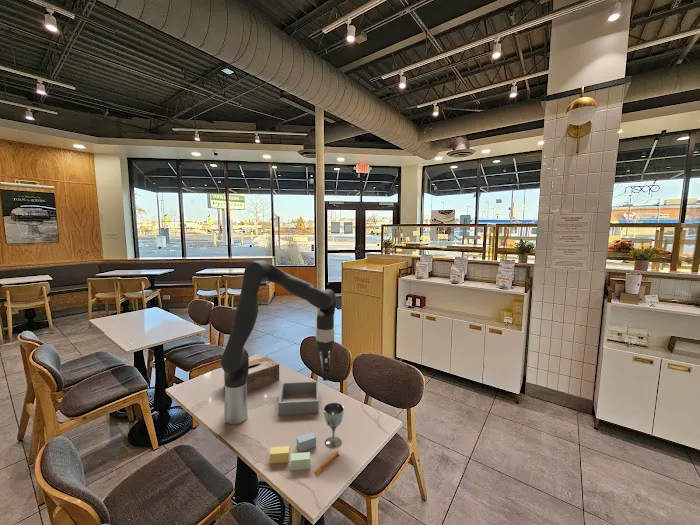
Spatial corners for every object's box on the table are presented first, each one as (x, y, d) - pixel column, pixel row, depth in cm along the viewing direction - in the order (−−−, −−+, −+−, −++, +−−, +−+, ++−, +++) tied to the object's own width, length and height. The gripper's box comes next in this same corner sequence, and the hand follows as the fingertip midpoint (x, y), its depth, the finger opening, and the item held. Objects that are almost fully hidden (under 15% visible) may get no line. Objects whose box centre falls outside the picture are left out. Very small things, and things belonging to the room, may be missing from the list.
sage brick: (290, 470, 110) (290, 460, 109) (291, 463, 113) (291, 453, 113) (310, 468, 111) (310, 458, 110) (309, 461, 114) (310, 451, 114)
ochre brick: (269, 463, 113) (269, 454, 112) (270, 456, 116) (270, 447, 116) (288, 462, 114) (288, 452, 113) (289, 455, 117) (289, 446, 117)
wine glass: (323, 436, 128) (324, 403, 126) (342, 435, 129) (343, 402, 127) (323, 449, 120) (324, 414, 119) (343, 448, 121) (344, 414, 119)
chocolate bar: (313, 472, 110) (313, 467, 109) (335, 453, 119) (335, 448, 119) (318, 476, 108) (318, 470, 108) (340, 457, 117) (340, 451, 117)
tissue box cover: (235, 397, 156) (235, 378, 155) (224, 386, 167) (224, 369, 166) (279, 380, 174) (279, 364, 173) (267, 371, 185) (266, 356, 183)
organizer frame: (278, 415, 142) (278, 403, 141) (282, 393, 160) (282, 382, 160) (318, 412, 144) (318, 400, 144) (317, 391, 163) (317, 381, 162)
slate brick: (299, 452, 119) (299, 442, 119) (296, 446, 122) (296, 437, 122) (316, 446, 122) (316, 437, 122) (312, 441, 125) (313, 432, 125)
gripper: (315, 332, 131) (314, 367, 133) (316, 344, 117) (316, 384, 119) (332, 331, 132) (331, 367, 134) (336, 344, 118) (335, 383, 120)
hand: (324, 375), depth 127 cm, fingers open, 8 cm apart
